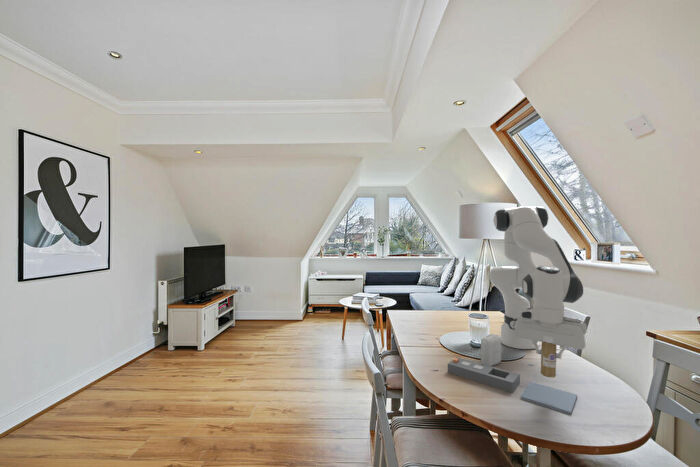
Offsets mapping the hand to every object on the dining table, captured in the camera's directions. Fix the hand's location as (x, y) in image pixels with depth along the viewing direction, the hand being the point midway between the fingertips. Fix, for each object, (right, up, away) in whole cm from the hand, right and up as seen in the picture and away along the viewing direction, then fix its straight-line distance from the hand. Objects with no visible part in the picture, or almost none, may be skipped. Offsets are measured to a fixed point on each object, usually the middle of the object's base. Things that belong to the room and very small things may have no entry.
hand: (548, 355), depth 106 cm
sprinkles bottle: (0, -7, 0) cm, 7 cm away
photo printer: (-7, -15, +28) cm, 32 cm away
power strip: (-16, -14, +15) cm, 26 cm away
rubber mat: (0, -14, 0) cm, 14 cm away
